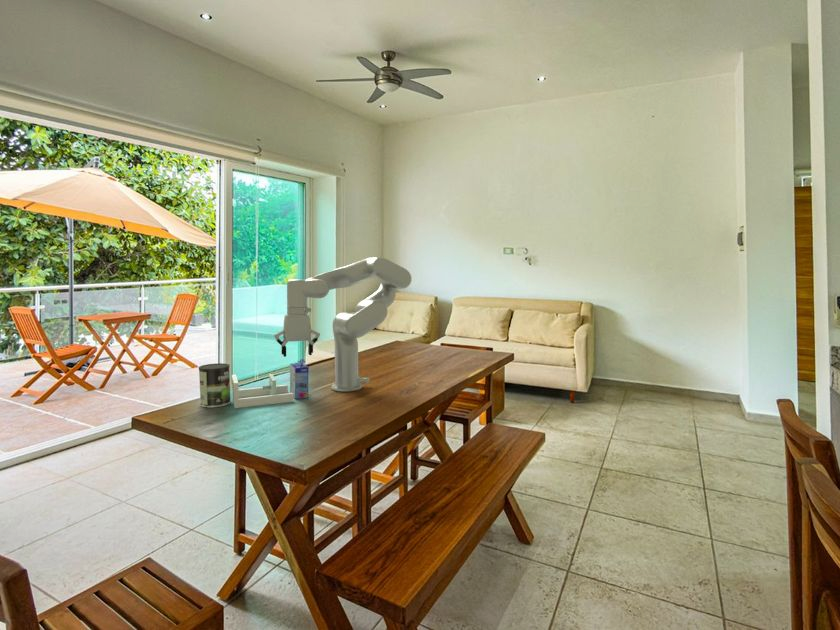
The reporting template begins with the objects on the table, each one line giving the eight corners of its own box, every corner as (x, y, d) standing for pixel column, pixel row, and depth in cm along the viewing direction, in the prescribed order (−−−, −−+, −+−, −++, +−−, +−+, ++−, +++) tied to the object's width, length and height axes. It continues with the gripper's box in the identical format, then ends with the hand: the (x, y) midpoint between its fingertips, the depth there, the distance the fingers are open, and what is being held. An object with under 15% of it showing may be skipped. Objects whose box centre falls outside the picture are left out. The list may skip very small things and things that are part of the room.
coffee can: (236, 400, 173) (235, 363, 171) (219, 408, 163) (217, 369, 161) (212, 399, 175) (210, 362, 173) (193, 406, 165) (192, 368, 163)
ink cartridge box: (309, 398, 177) (308, 361, 175) (295, 399, 174) (294, 362, 173) (303, 391, 186) (302, 356, 184) (289, 393, 183) (288, 357, 182)
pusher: (272, 393, 181) (272, 374, 180) (276, 401, 171) (275, 380, 170) (261, 395, 179) (260, 375, 179) (264, 402, 169) (264, 381, 168)
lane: (287, 392, 185) (286, 370, 184) (293, 401, 172) (292, 377, 171) (232, 397, 176) (231, 374, 176) (234, 408, 163) (233, 383, 163)
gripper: (317, 310, 184) (317, 352, 185) (272, 311, 176) (272, 355, 178) (321, 311, 177) (321, 355, 178) (275, 312, 170) (275, 358, 171)
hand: (297, 355), depth 178 cm, fingers open, 9 cm apart
